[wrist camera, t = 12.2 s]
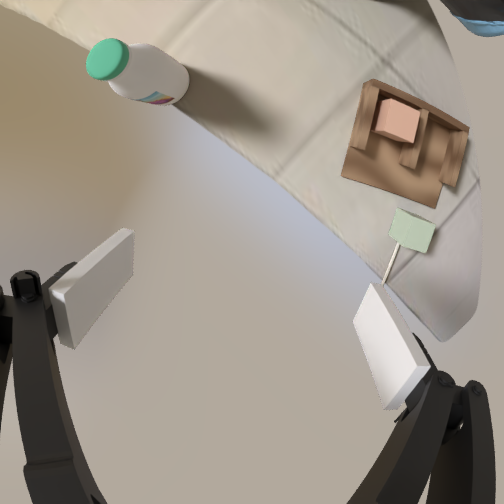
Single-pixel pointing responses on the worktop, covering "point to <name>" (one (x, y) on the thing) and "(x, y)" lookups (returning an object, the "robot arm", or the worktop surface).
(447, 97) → the worktop surface
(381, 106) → the terracotta block
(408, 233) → the green headed mallet
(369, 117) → the lane shelf
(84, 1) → the worktop surface
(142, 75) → the milk bottle
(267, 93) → the worktop surface
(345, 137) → the worktop surface
